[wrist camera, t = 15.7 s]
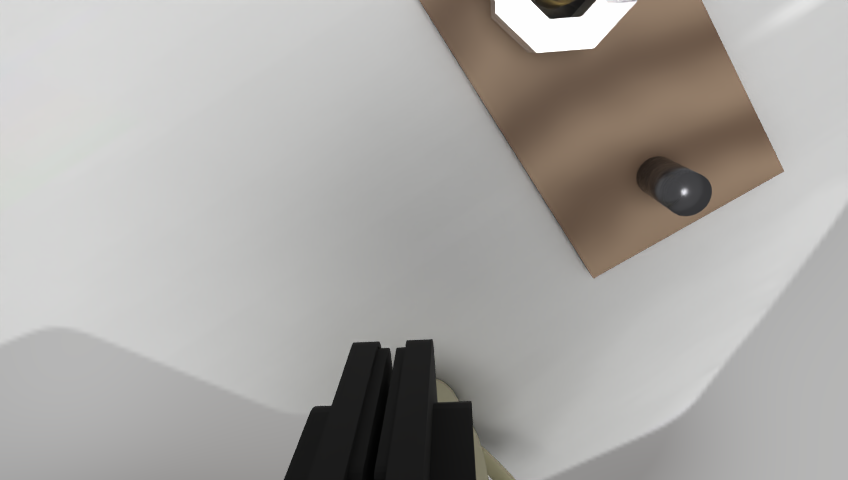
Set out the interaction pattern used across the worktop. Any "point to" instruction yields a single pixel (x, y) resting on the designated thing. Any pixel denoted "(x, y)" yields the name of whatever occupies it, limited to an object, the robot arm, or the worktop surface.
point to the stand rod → (674, 186)
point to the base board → (615, 118)
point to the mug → (476, 444)
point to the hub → (558, 7)
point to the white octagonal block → (558, 24)
